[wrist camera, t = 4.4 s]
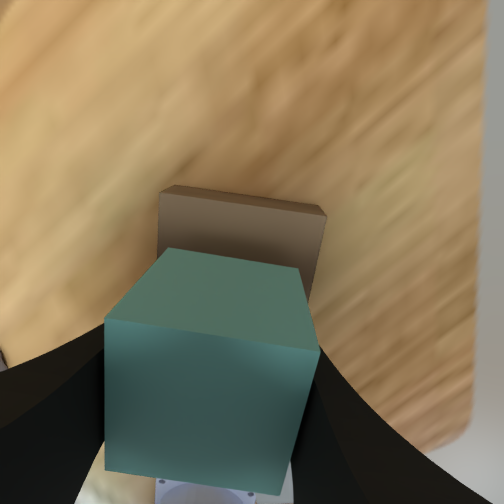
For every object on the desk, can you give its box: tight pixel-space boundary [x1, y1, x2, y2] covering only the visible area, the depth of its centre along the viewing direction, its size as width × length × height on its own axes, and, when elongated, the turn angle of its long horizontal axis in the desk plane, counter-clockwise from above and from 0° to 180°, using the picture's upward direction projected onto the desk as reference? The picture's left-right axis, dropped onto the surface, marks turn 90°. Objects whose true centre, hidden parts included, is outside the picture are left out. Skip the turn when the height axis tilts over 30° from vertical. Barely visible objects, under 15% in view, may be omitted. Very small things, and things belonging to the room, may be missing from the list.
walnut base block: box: [157, 185, 327, 303], centre depth 17 cm, size 8×8×3 cm
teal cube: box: [104, 247, 321, 496], centre depth 10 cm, size 5×5×5 cm
